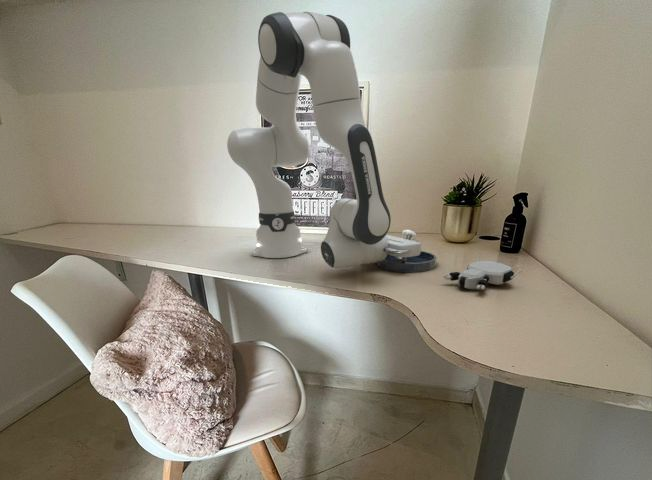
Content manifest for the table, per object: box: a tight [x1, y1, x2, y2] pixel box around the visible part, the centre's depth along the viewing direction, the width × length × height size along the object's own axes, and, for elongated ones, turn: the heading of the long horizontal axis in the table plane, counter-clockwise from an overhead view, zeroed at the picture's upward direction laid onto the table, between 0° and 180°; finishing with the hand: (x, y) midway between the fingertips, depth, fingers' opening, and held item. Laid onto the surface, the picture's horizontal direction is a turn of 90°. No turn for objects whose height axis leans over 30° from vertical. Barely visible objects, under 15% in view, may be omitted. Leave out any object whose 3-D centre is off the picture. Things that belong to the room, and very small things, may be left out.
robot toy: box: [443, 259, 523, 291], centre depth 82 cm, size 12×4×15 cm
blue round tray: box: [377, 250, 438, 273], centre depth 101 cm, size 17×17×2 cm
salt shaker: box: [396, 229, 422, 261], centre depth 102 cm, size 4×5×10 cm
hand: (410, 241), depth 102 cm, fingers closed on salt shaker, 4 cm apart
